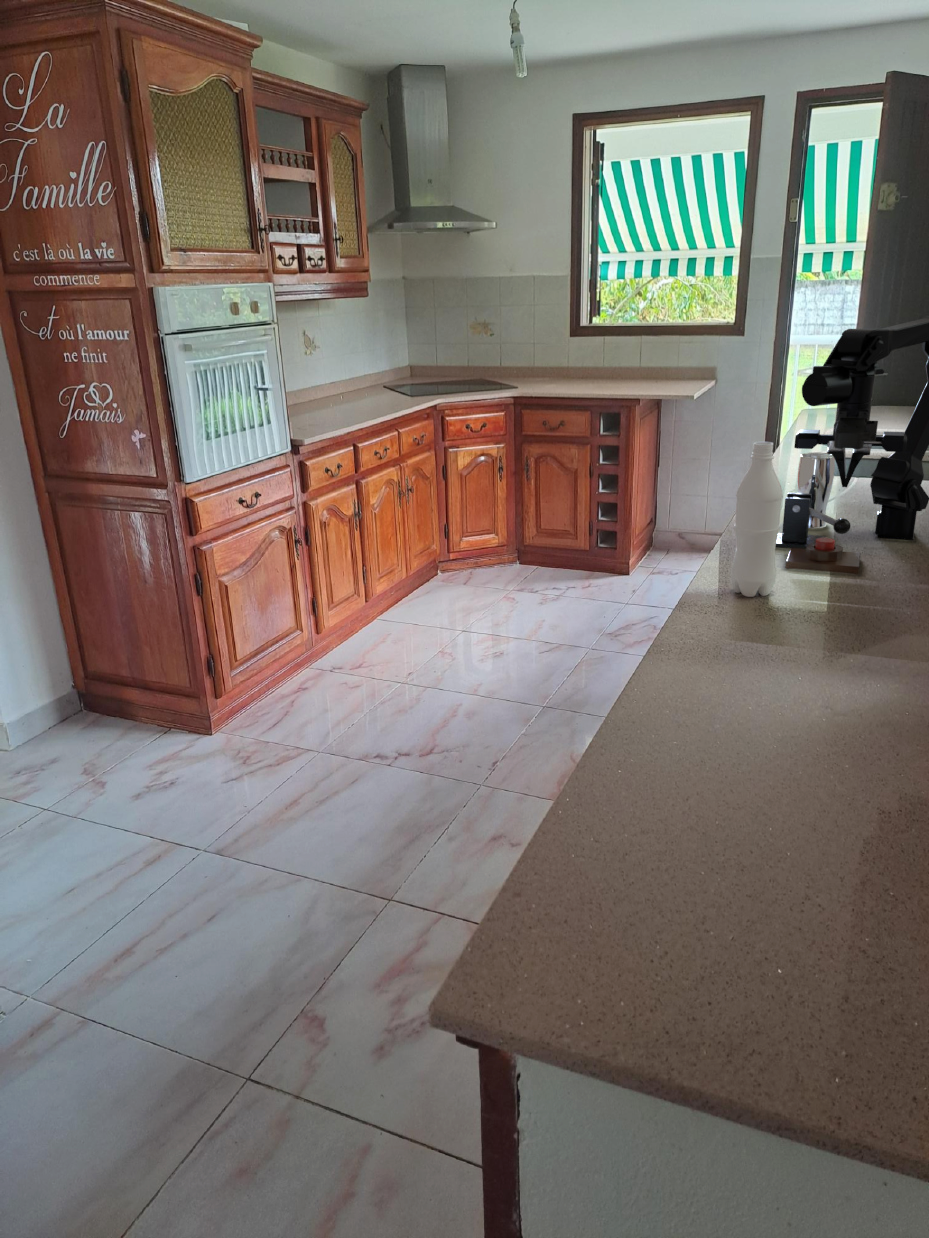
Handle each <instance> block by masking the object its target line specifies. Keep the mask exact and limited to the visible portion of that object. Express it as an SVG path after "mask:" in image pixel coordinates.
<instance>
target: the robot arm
mask: <svg viewBox="0 0 929 1238" xmlns="http://www.w3.org/2000/svg"><path fill="white" fill-rule="evenodd" d="M919 344H922V346H921V347H922V348H921V351H922V352H923V353H924V354H925V356H926V357H927V361H926V364H925V372H926V378H927V382H926V385H925V386H924V388H923V391H922V393H921V395H920V397H919V400H918V402H917V404H916V406H915V408H914V410H913V413H912V414H911V417H910V419H909V422H908V424H907V426H906V427H905V430H904V431H883V433H882V435H877V434H878V424H879V420H871V419H870V418H871V412H872V405H873V404H872V403H873V394H874V387H875V379H876V376H878V375H879V376H881V375H884V373H885V370H884V369H883V368H882V367H881V366H880V365H879V364H878V362H880V361H882V360H884V359H886V358H888V357H889V356H890V354H891V353H892V352H895V351H896V350H899V349H903V348H908V347H912V346H915V345H919ZM801 395H802V396H801V397H802V398H803V401H804V402H805V403H806V405H808V406H810V407H819V406H828V405H836V412H835V419H834V420H835V422H834V424H833V431H832V434H822V433H821V430H820V429H805V428H804V429H800V430H798V431H797V433H796V434H795V437H794V446H793V447H794V449H799V450H800V449H802V450H803V449H804V450H813V449H814V448H815V447H816V446H817V445H823V446H824V445H826V447H827V450H826V453H827V454H832V455H833V456H834V458H835V464H836V466H837V469H838V474H839V479H840V482H841V487H842V488H848V486H849V484H850V481H851V479H852V477H853V474H854V473H855V470H856V469H857V467H858V466H859V463H860V462H861V460H862V459H863V458H864V456H870V455H871V450H872V447H882V449H883V450H884V451H885V452H888V453H890V452H891V453H892V454H891V455H890V456H888V457H885V456H881V457H880V458H879V460H878V461H877V464H876V467H875V468H874V470H873V472H872V474H871V475H870V477H872V478H871V481H870V484H869V487H870V490H871V496H872V503H873V504H874V505H879V506H880V507H881V508H880V510H878V511H877V514H876V522H875V529H874V533H875V535H876V537H877V539H885V540H886V539H887V540H902V541H903V540H904V541H914V540H915V527H916V519H917V515H918V514H917V512H922V511H923V510H926V509H927V507H928V504H929V495H928V494H927V492H926V491H925V490H924V488H923V487H922V483H923V480H924V477H925V474H924V467H923V459H924V456H925V455H926V453H927V451H928V448H929V315H927V316H925V317H922V318H920V319H916V320H911V321H907V322H904V323H900V324H899V323H898V324H894V325H891V326H887V327H883V328H847V329H845V330H843V332H841V336H840V338H839V339H838V340H837V342H836V343H835V345H834V347H833V349H832V350H831V352H830V353H829V355H828V357H827V359H825V361H824V363H823V365H813V367H812V373H810V374H809V375H808V376H806V377H805V380H804V381H803V384H802V386H801ZM846 449H853V450H852V453H851V457H850V460H849V465H848V468H846V467H847V466H846V464H847V461H846Z"/></svg>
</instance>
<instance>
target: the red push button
mask: <svg viewBox="0 0 929 1238" xmlns="http://www.w3.org/2000/svg"><path fill="white" fill-rule="evenodd" d="M835 544H836V539H834V538H831V537H826V538H817V539H816V544H815V549H819V550H834V546H835Z"/></svg>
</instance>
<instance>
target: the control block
mask: <svg viewBox="0 0 929 1238" xmlns="http://www.w3.org/2000/svg"><path fill="white" fill-rule="evenodd" d="M815 544H816V543H812V544H809V545H807V547H806V549H800V548H789V549H790V550H789V552H788V555H787V558H786V561H785V569H791V570H793V569H794V570H806V571H817V572H818V571H820V572H821V571H822V572H831V573H844V574H859V571H860V562H861V552H857V551H856V552H855V551H844V547H843V546H841V545H839V544H836V543H835V546H834V550H819V549H815Z"/></svg>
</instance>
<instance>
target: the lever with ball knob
mask: <svg viewBox="0 0 929 1238" xmlns="http://www.w3.org/2000/svg"><path fill="white" fill-rule="evenodd" d="M793 498H799V497H797V496H794V497H793ZM809 514H810V515H812V516H814V517H816V518H818V519H820V520H822V521H824V522H826V524H829V525H831V526H832V528H833V530H834V532H835V533H837V534H839V535H844V534H847V533H848V532H849V531H850V529H851V523H850V521H849V519H847V518H845V517H841V518H838V519H836V518H833V517H831V516H829V515H827V514H826V515H825V514H823V513H821V512H819V511H816V510H814V509H812V508H810V507H809Z"/></svg>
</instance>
